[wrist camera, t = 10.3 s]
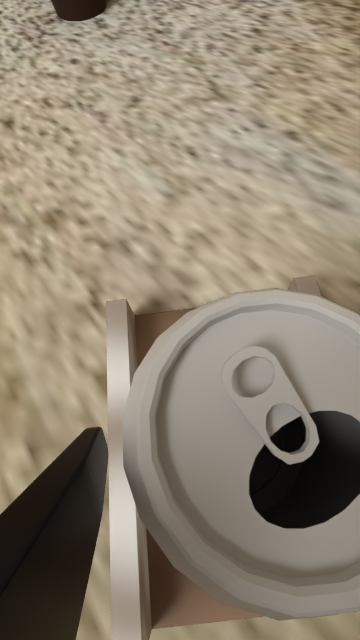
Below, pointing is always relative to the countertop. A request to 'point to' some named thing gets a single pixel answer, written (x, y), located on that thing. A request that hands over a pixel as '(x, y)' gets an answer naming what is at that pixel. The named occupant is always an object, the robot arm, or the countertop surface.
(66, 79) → the countertop surface
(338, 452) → the can
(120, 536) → the floor track
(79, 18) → the coffee mug
